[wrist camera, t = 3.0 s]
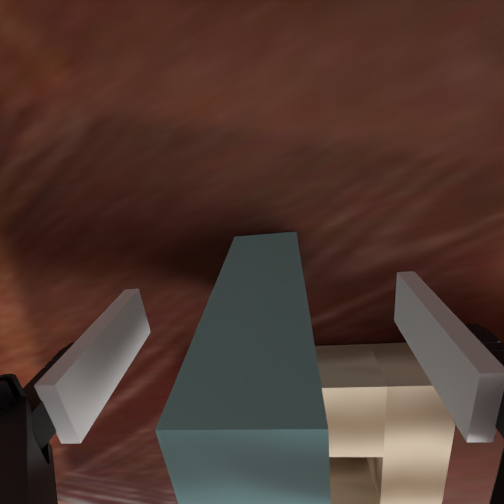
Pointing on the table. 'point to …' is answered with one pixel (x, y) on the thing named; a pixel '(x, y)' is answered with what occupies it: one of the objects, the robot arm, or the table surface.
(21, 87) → the table surface
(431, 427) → the socket block
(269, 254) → the peg
